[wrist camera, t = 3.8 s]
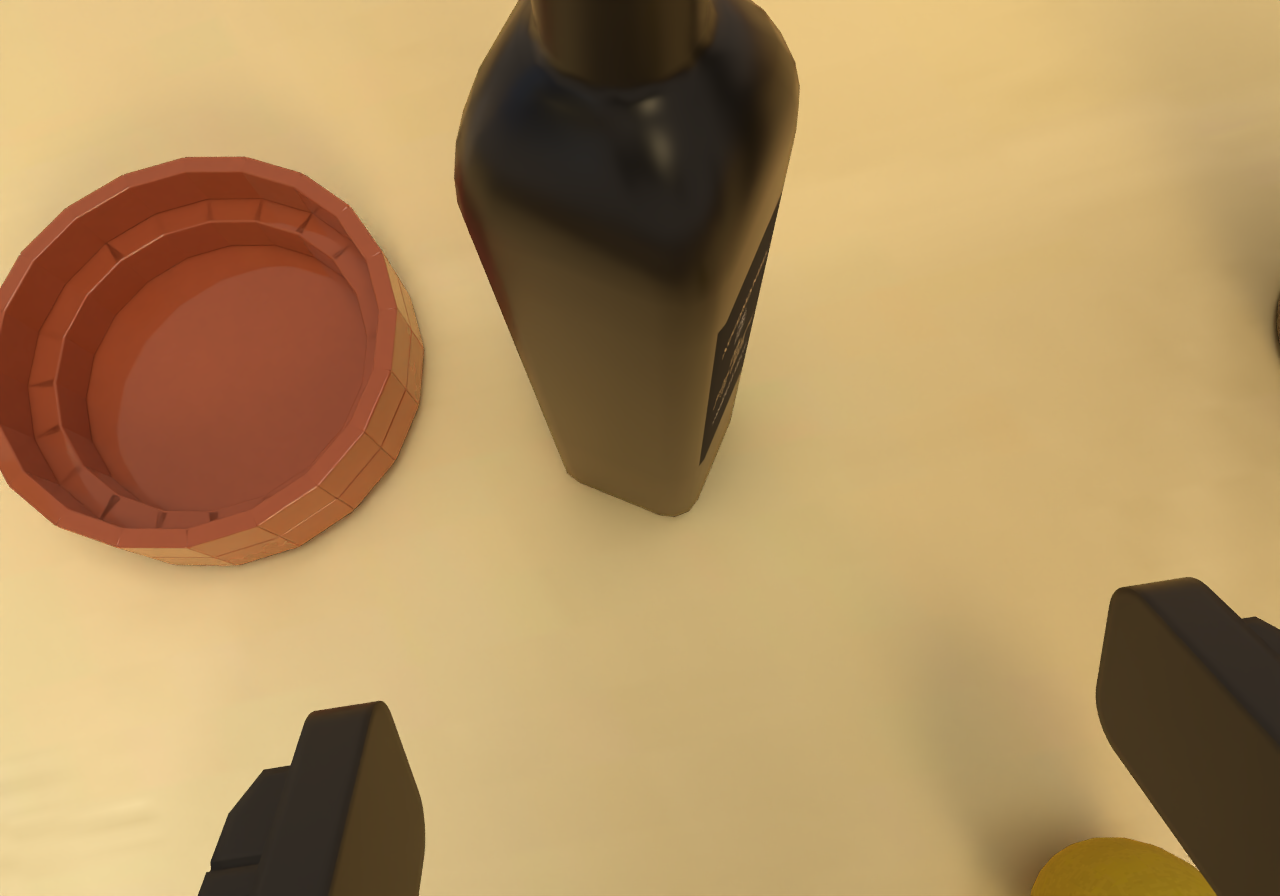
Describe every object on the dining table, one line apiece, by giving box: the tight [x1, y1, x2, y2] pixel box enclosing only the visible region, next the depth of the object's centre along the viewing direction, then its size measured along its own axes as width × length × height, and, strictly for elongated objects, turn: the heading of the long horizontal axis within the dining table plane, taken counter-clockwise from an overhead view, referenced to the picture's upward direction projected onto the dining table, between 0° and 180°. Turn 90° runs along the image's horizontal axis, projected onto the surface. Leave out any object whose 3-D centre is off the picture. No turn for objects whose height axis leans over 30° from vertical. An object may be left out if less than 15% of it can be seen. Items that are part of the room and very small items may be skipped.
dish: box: [0, 157, 424, 565], centre depth 35 cm, size 15×15×4 cm
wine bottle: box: [454, 0, 800, 517], centre depth 22 cm, size 6×6×30 cm
